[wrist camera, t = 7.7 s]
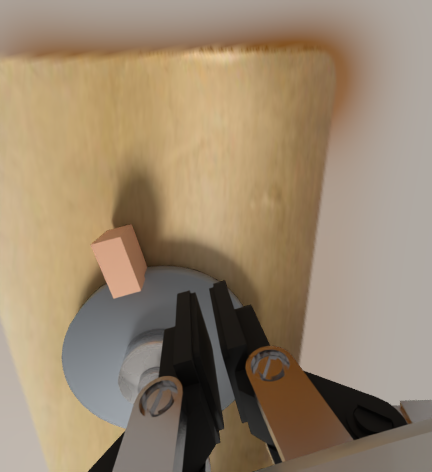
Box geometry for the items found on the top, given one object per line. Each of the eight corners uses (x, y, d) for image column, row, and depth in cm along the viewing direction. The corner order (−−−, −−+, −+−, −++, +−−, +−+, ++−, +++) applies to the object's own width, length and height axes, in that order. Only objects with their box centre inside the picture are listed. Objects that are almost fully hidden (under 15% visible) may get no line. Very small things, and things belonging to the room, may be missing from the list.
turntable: (265, 387, 32) (277, 421, 28) (110, 434, 31) (99, 477, 27) (219, 200, 24) (227, 207, 20) (15, 255, 24) (-22, 275, 19)
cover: (201, 371, 27) (204, 405, 24) (139, 391, 27) (132, 428, 23) (181, 319, 25) (181, 347, 22) (114, 340, 25) (101, 372, 21)
